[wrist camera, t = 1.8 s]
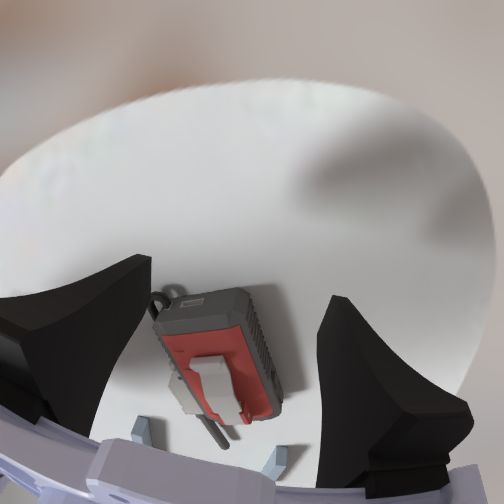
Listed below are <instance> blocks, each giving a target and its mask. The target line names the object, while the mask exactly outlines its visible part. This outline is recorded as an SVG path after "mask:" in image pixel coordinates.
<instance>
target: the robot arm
mask: <svg viewBox="0 0 504 504" xmlns="http://www.w3.org/2000/svg"><path fill="white" fill-rule="evenodd" d="M151 258H152V257H150V256H145V255H141V254H136V255H133V256H131V257H129V258H127V259H125V260H123V261H120V262H118V263H116V264H114V265H112V266H110V267H108V268H106V269H104V270H102V271H100V272H98V273H95V274H93V275H91V276H89V277H86V278H84V279H82V280H79V281H77V282H74V283H71V284H68V285H65V286H62V287H59V288H56V289H52V290H48V291H44V292H40V293H36V294H30V295H25V296H17V297H9V298H0V494H1V493H3V491H4V489H5V488H6V486H7V485H8V483H9V482H10V481H11V480H12V481H13V482H15V483H16V484H18V485H19V486H21V487H22V488H24V489H25V490H27V491H28V492H30V493H32V494H33V495H35V496H36V497H38V498H39V500H38V502H37V504H488V503H487V498H486V495H485V491H484V487H483V483H482V479H481V476H480V472H479V469H478V465H477V464H473V465H468V466H463V467H458V468H455V469H452V470H450V471H448V472H447V468H446V464H448V463H450V457H449V452H450V451H452V450H453V449H454V448H455V447H456V446H457V445H458V444H459V443H460V442H461V441H463V440H464V439H465V437H467V435H468V434H469V433H470V431H471V430H472V428H473V426H474V419H473V416H472V414H471V411H470V409H469V406H468V404H467V402H466V401H464V400H462V399H460V398H458V397H456V396H454V395H452V394H450V393H448V392H446V391H445V390H443V389H441V388H440V387H438V386H436V385H435V384H433V383H432V382H430V381H429V380H427V379H426V378H424V377H423V376H422V375H420V374H419V373H418V372H416V371H415V370H414V369H413V368H411V367H410V366H409V365H408V364H407V363H405V362H404V361H403V360H402V359H401V358H400V357H399V356H398V355H397V354H396V353H394V352H393V351H392V350H391V349H390V348H389V346H388V345H387V344H386V343H385V342H384V341H383V340H382V339H381V338H380V337H379V336H378V334H377V333H376V332H375V331H374V330H373V329H372V327H371V326H370V325H369V324H368V322H367V321H366V320H365V319H364V318H363V316H362V315H361V314H360V312H359V311H358V310H357V309H356V307H355V306H354V305H353V304H352V303H351V301H350V300H349V299H348V298H347V297H341V296H336V295H332V297H331V300H330V303H329V305H328V308H327V310H326V313H325V316H324V318H323V321H322V323H321V326H320V328H319V330H318V333H317V364H318V373H319V381H320V390H321V400H322V430H321V446H320V457H319V466H318V474H317V481H316V487H315V488H301V487H286V486H276V484H275V482H274V481H273V480H272V479H270V478H269V477H267V476H265V475H263V474H262V473H260V472H256V471H252V470H248V469H244V468H240V467H235V466H229V465H223V464H218V463H213V462H208V461H203V460H199V459H195V458H190V457H186V456H182V455H178V454H174V453H171V452H167V451H163V450H160V449H156V448H153V447H150V446H147V445H143V444H140V443H137V442H133V441H128V440H124V439H120V438H116V439H108V440H103V441H102V442H101V443H99V442H96V441H94V440H91V439H89V435H90V431H91V428H92V424H93V421H94V418H95V415H96V412H97V409H98V406H99V403H100V400H101V397H102V395H103V392H104V389H105V387H106V384H107V382H108V379H109V377H110V375H111V372H112V370H113V368H114V365H115V363H116V362H117V360H118V358H119V356H120V354H121V353H122V351H123V349H124V348H125V346H126V344H127V343H128V341H129V340H130V338H131V336H132V335H133V333H134V331H135V330H136V328H137V326H138V325H139V323H140V321H141V320H142V318H143V316H144V314H145V311H146V309H147V307H148V304H149V302H150V300H151Z"/></svg>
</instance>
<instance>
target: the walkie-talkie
mask: <svg viewBox="0 0 504 504" xmlns="http://www.w3.org/2000/svg"><path fill="white" fill-rule="evenodd" d="M249 297H250V294H249V293H247V292H245V291H244V290H242V289H240V288H238V287H235V288H230V289H224V290H218V291H213V292H207V293H201V294H195V295H189V296H183V297H177V298H171V299H169V298H168V297H167V296H166V295H165V294H164V293H162V292H152V293H151V300H150V302H149V304H148V307H147V309H148V311H149V313H150V315H151V317H152V319H153V321H154V322H155V323H154V325H153V329H154V330H155V332H156V333H155V334H156V335H157V336H158V338H159V341H161V343H162V346H163V347H164V348H165V351H166V353H167V354H168V355H169V356H168V357H169V358H170V359H171V361H170V363H169V366H170V367H171V369H172V371H173V373H172V376H171V379H170V382H169V385H168V387H169V389H170V390H171V392H172V393H173V395H174V396H175V398H176V399H177V401H178V402H179V404H180V405H181V407H182V410H183V412H184V413H185V414H195V415H196V417H197V418H199V419H200V420H201V421H202V423H203V424H204V425H205V427H206V428H207V430H208V431H209V432H210V434H211V435H212V437H213V438H214V439H215V441H216V442H217V443H218V445H219V446H220V447H221V449H223V450H227V449H229V447H230V444H229V442H228V441H227V439H226V438H225V437H224V435H223V434H222V432H221V431H220V429H219V428H218V426H217V425H216V423H215V422H220V423H221V425H247V424H251V423H252V421H256V420H257V421H258V420H259V421H263V420H269V419H272V418H275V417H277V416H279V415H280V414H281V410H282V403H283V392H282V389H281V386H280V383H279V380H278V377H277V374H276V371H275V368H274V365H273V362H272V359H271V357H269V352H267V351H268V348H267V347H266V342H265V341H264V336H262V330H260V325H259V324H258V319H257V318H256V312H254V306H252V299H250V298H249ZM154 300H156V301H159V302H161V304H162V305H163V307H162V309H161V311H160V313H159V312H158V310H157V308H156V306H155V304H154ZM214 421H215V422H214Z"/></svg>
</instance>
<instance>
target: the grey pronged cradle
mask: <svg viewBox="0 0 504 504" xmlns="http://www.w3.org/2000/svg"><path fill="white" fill-rule="evenodd" d="M131 436H132V440H133V442H137V443H140V444H143V445H147V446H150V447H152V441H151V435H150V428H149V421H148V419H147V418H143V417H140V416H138V417H137V419H136V422H135V424H134V427H133V429H132V432H131ZM286 467H287V447H281V446H276V448H275V450H274V451H273V453H272V455H271V456H270V458H269V460H268V461H267V463H266V465H265V466H264V468H263V470H262V471H261V473H262V474H263V475H265V476H267V477H269V478H270V479H272V480H273V481H274V482H275V481H276V480H277V478H278V477H279V476H280V475H281V473H282V472H283V471H284V469H285V468H286Z"/></svg>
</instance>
